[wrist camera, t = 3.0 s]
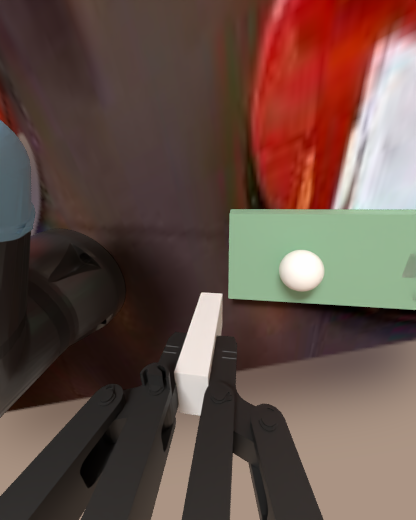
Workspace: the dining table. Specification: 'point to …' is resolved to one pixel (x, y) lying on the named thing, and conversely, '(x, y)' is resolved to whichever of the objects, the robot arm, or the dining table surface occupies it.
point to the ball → (301, 270)
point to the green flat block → (326, 255)
